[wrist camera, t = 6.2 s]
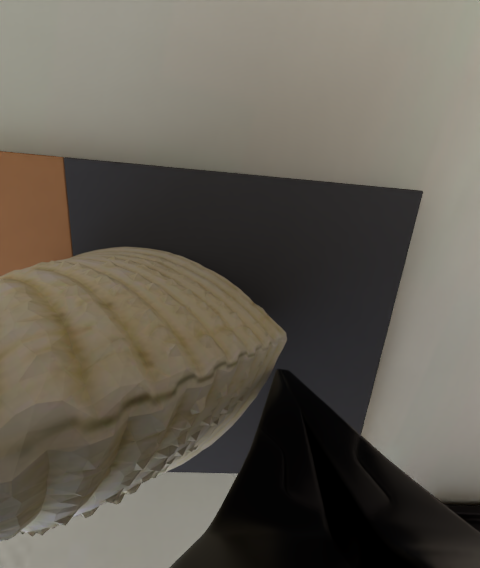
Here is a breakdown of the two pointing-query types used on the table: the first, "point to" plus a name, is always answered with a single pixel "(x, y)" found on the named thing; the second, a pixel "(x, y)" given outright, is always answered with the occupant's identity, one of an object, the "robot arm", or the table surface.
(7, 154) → the desk pad
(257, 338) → the seashell
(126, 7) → the table surface
